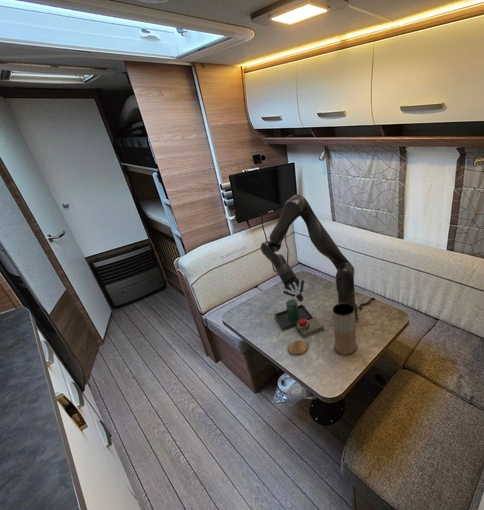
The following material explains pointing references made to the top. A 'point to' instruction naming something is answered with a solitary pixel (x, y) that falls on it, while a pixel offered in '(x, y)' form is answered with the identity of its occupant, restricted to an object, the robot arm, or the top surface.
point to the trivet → (298, 347)
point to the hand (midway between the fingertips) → (302, 301)
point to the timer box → (310, 327)
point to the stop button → (302, 321)
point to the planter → (344, 327)
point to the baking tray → (287, 323)
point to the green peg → (292, 309)
